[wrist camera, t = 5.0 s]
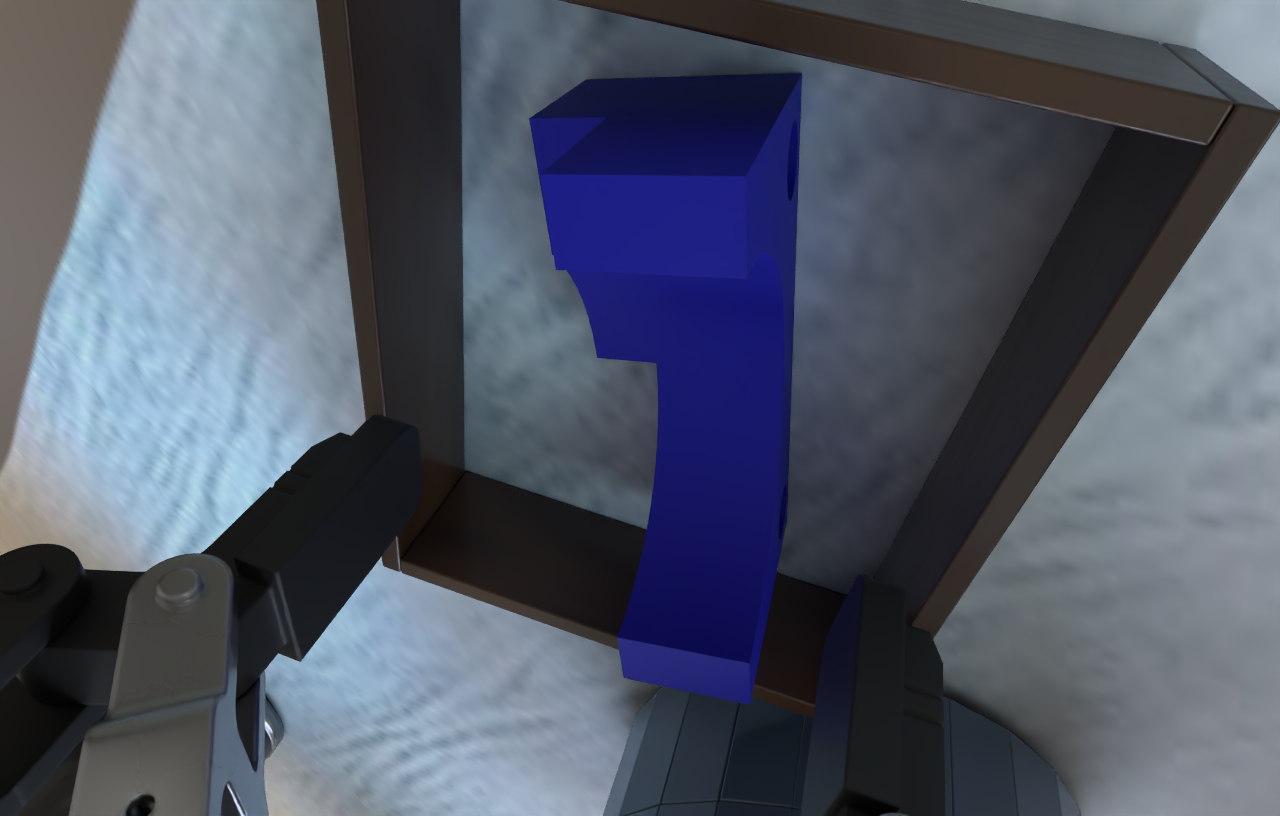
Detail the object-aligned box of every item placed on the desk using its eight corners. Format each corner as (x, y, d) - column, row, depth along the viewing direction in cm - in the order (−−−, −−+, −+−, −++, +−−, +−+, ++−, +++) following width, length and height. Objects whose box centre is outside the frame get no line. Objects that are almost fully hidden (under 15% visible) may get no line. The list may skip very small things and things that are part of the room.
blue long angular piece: (586, 79, 16) (449, 173, 11) (802, 72, 15) (745, 175, 10) (637, 500, 23) (565, 665, 18) (786, 521, 21) (749, 704, 17)
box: (449, 478, 25) (382, 566, 22) (432, -111, 15) (302, -101, 12) (874, 618, 23) (867, 738, 20) (1198, 49, 13) (1287, 114, 10)
